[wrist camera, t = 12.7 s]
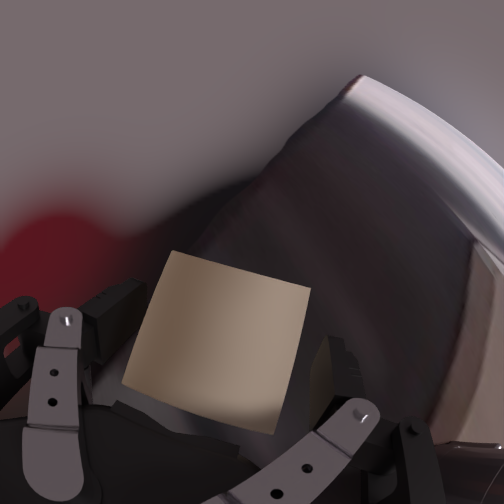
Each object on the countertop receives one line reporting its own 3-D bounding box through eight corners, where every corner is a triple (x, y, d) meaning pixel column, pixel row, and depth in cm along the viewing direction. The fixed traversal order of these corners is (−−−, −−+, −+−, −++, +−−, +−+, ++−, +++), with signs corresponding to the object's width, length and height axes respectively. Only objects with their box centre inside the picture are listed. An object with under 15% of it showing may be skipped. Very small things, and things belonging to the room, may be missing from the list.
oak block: (274, 337, 18) (310, 288, 9) (255, 406, 16) (273, 435, 7) (204, 317, 18) (172, 250, 9) (182, 384, 16) (121, 383, 7)
